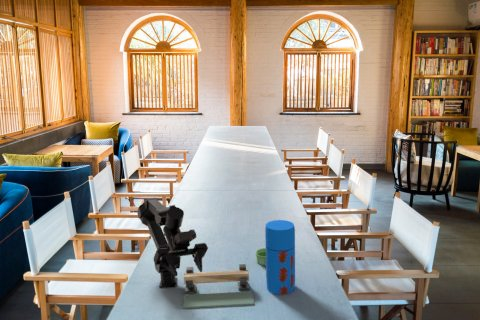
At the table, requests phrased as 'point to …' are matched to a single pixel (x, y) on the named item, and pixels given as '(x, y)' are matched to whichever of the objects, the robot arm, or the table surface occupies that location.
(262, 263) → the ramekin
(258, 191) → the table surface
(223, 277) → the rail
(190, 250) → the robot arm
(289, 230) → the thermos
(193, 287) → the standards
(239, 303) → the mat
